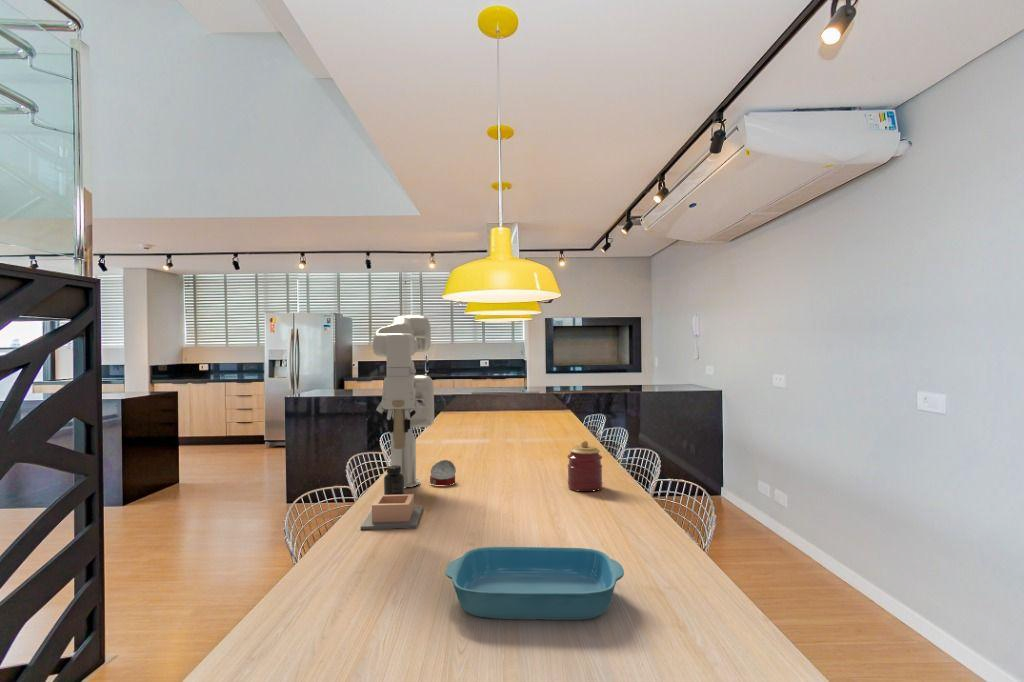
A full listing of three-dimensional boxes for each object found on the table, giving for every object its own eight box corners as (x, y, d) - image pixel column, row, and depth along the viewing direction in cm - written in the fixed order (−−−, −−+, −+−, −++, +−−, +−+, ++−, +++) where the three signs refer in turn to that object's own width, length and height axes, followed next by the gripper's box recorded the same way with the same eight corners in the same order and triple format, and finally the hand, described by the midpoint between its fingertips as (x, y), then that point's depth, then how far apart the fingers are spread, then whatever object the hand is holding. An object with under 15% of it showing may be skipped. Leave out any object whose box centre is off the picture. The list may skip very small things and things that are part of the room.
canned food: (455, 493, 204) (465, 472, 202) (438, 497, 195) (449, 475, 194) (436, 477, 210) (447, 456, 208) (420, 479, 201) (430, 458, 200)
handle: (408, 446, 163) (408, 399, 163) (406, 450, 157) (405, 401, 157) (393, 446, 163) (392, 399, 163) (389, 450, 156) (389, 401, 157)
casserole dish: (435, 626, 97) (435, 588, 98) (456, 574, 120) (456, 543, 120) (632, 631, 95) (632, 592, 95) (616, 578, 117) (616, 546, 117)
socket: (373, 510, 168) (373, 492, 168) (423, 509, 169) (422, 491, 169) (360, 530, 150) (360, 509, 150) (416, 528, 151) (416, 507, 151)
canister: (564, 491, 189) (564, 443, 189) (571, 482, 201) (570, 437, 201) (600, 494, 185) (599, 444, 185) (604, 484, 197) (604, 438, 198)
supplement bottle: (406, 498, 181) (406, 464, 181) (400, 504, 174) (400, 469, 174) (387, 498, 182) (387, 464, 182) (381, 504, 175) (380, 468, 175)
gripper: (427, 372, 165) (427, 429, 164) (373, 372, 163) (374, 430, 163) (425, 373, 157) (425, 433, 157) (369, 374, 156) (369, 434, 155)
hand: (399, 431), depth 160 cm, fingers closed on handle, 3 cm apart
